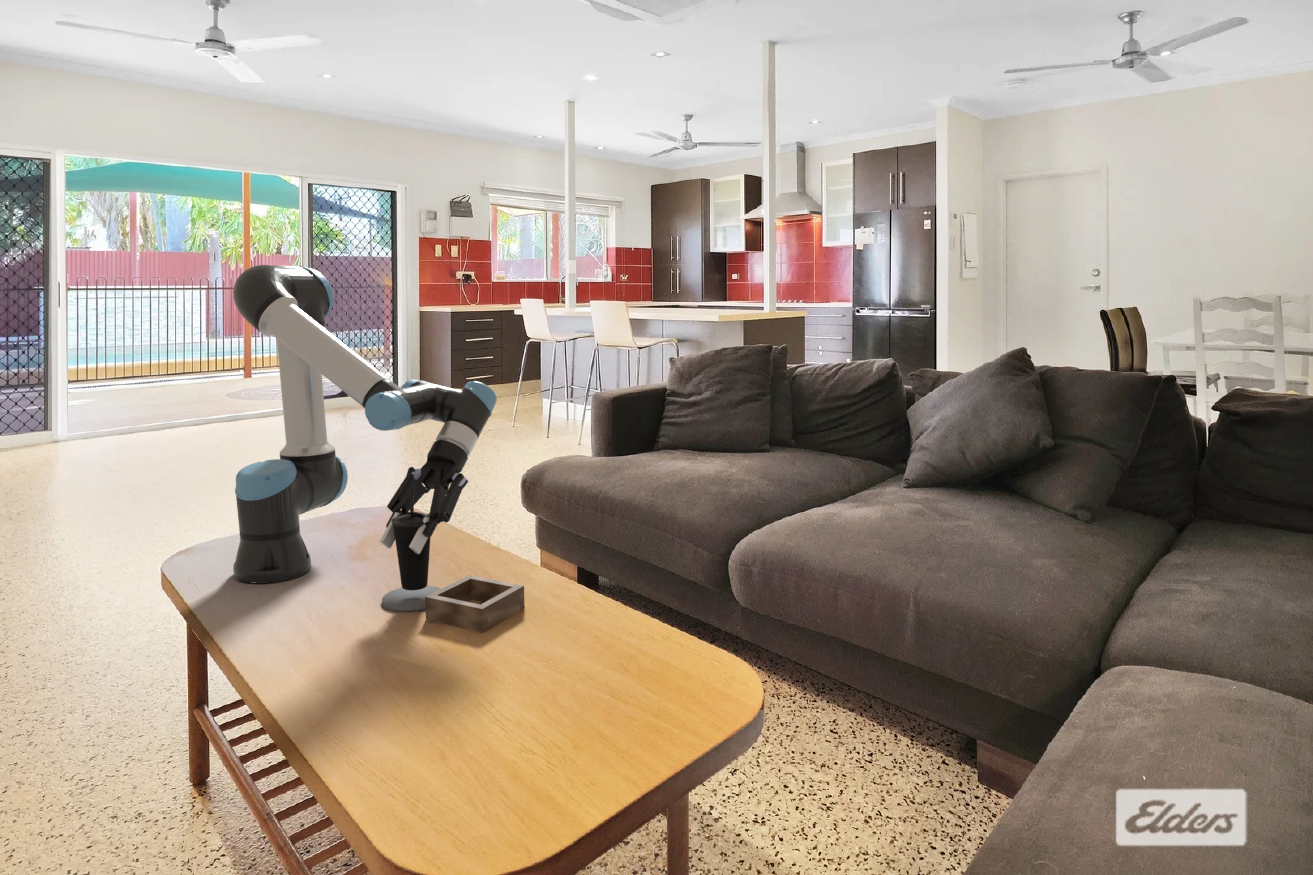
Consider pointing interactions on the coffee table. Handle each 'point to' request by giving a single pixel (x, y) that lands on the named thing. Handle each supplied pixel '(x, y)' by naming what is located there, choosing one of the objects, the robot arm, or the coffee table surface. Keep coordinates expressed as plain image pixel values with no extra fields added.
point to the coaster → (407, 599)
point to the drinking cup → (410, 562)
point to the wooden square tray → (459, 612)
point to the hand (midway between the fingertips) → (399, 547)
